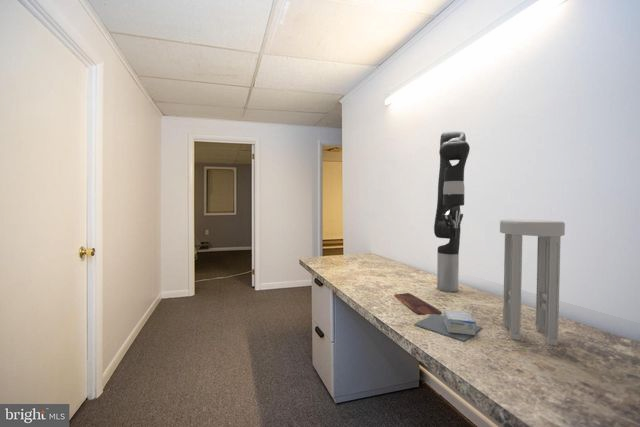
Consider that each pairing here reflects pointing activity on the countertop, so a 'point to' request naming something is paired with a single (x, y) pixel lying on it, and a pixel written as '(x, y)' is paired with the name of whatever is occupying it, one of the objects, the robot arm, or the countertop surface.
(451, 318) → the medicine box
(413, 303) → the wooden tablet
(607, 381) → the countertop surface
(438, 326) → the mat
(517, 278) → the stool
